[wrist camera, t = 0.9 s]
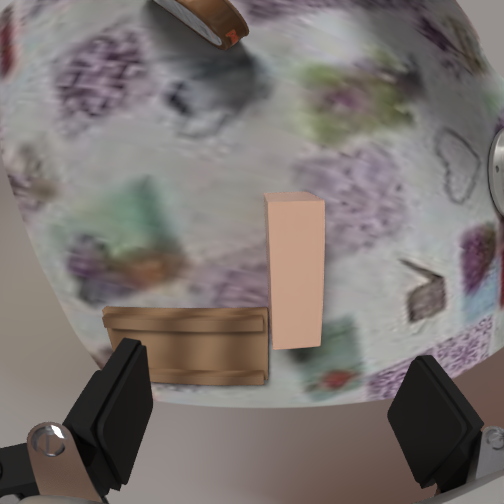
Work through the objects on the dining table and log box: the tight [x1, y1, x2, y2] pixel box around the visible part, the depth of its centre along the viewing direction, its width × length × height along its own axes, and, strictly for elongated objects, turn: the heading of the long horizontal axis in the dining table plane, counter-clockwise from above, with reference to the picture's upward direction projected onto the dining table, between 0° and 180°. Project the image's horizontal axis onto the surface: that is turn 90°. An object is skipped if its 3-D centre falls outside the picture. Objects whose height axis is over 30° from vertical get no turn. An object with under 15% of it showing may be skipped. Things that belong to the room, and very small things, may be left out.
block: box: [264, 192, 325, 350], centre depth 25 cm, size 4×12×7 cm, turn 3°
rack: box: [102, 306, 268, 385], centre depth 30 cm, size 18×9×2 cm, turn 92°
